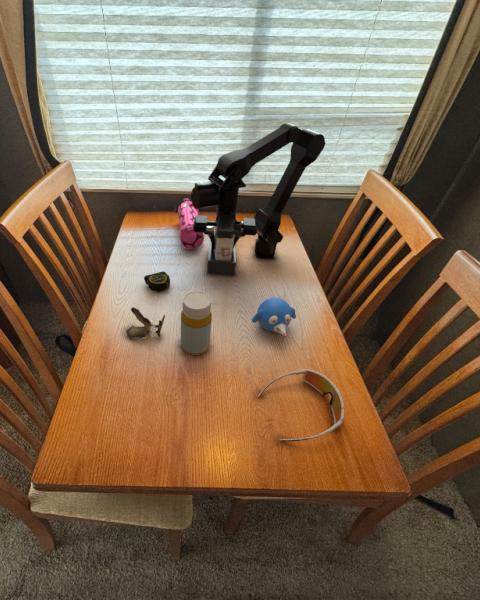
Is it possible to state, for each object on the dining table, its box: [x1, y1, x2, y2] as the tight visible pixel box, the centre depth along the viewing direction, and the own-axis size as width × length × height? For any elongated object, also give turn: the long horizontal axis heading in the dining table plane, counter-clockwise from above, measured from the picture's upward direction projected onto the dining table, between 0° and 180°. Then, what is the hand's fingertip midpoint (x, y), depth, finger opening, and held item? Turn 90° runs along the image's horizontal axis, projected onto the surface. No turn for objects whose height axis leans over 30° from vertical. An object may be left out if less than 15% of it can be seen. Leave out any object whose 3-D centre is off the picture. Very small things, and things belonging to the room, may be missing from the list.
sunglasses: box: [257, 368, 345, 442], centre depth 66 cm, size 14×15×5 cm
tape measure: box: [143, 271, 171, 293], centre depth 95 cm, size 7×7×4 cm
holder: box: [206, 239, 237, 277], centre depth 104 cm, size 9×13×5 cm
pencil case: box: [173, 198, 205, 250], centre depth 116 cm, size 21×10×10 cm, turn 7°
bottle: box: [180, 290, 213, 356], centre depth 74 cm, size 7×7×15 cm
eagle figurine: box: [125, 306, 166, 339], centre depth 80 cm, size 8×7×9 cm
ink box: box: [213, 228, 234, 261], centre depth 102 cm, size 9×5×12 cm, turn 4°
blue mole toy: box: [251, 297, 297, 338], centre depth 81 cm, size 12×12×8 cm
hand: (222, 249), depth 102 cm, fingers closed on ink box, 5 cm apart
